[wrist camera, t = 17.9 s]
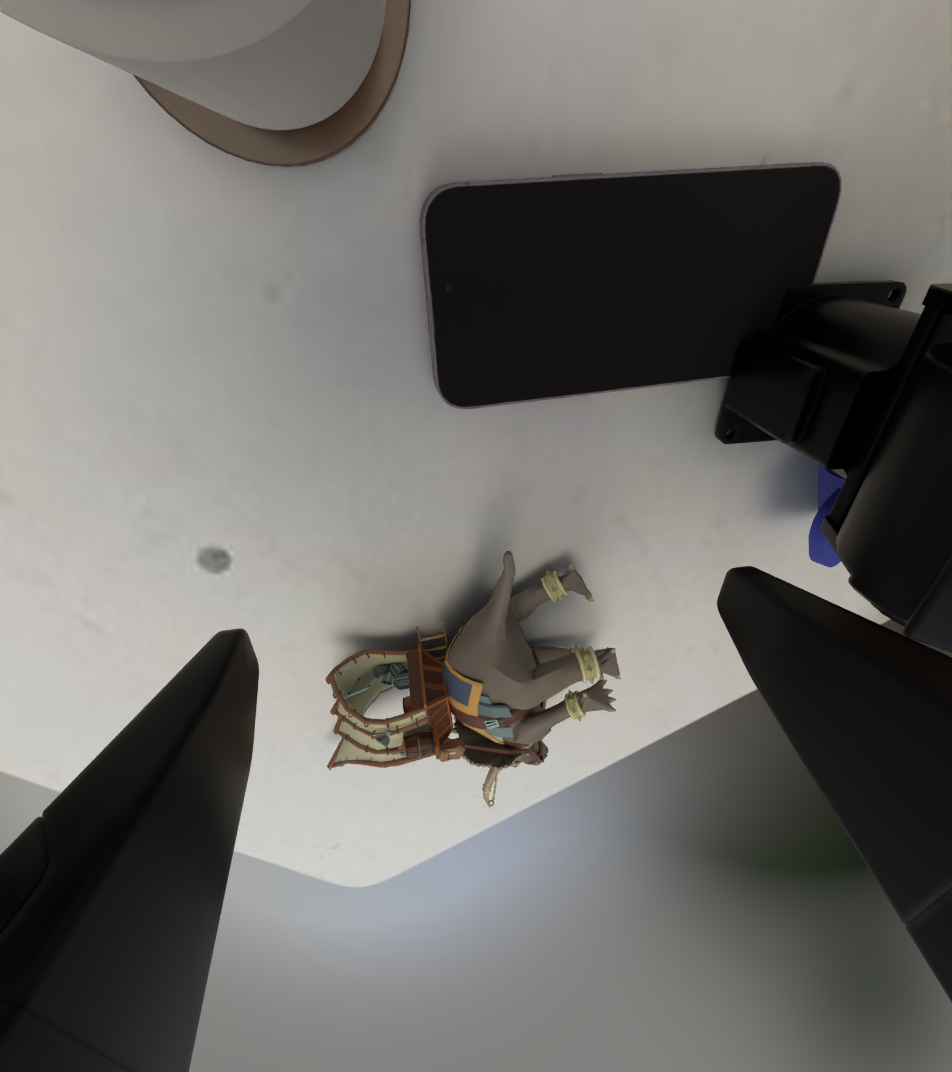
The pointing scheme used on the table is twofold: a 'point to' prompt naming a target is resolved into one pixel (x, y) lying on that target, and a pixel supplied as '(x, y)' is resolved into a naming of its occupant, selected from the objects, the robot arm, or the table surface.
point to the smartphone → (613, 276)
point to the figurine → (471, 688)
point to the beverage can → (227, 49)
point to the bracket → (827, 496)
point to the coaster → (312, 139)
